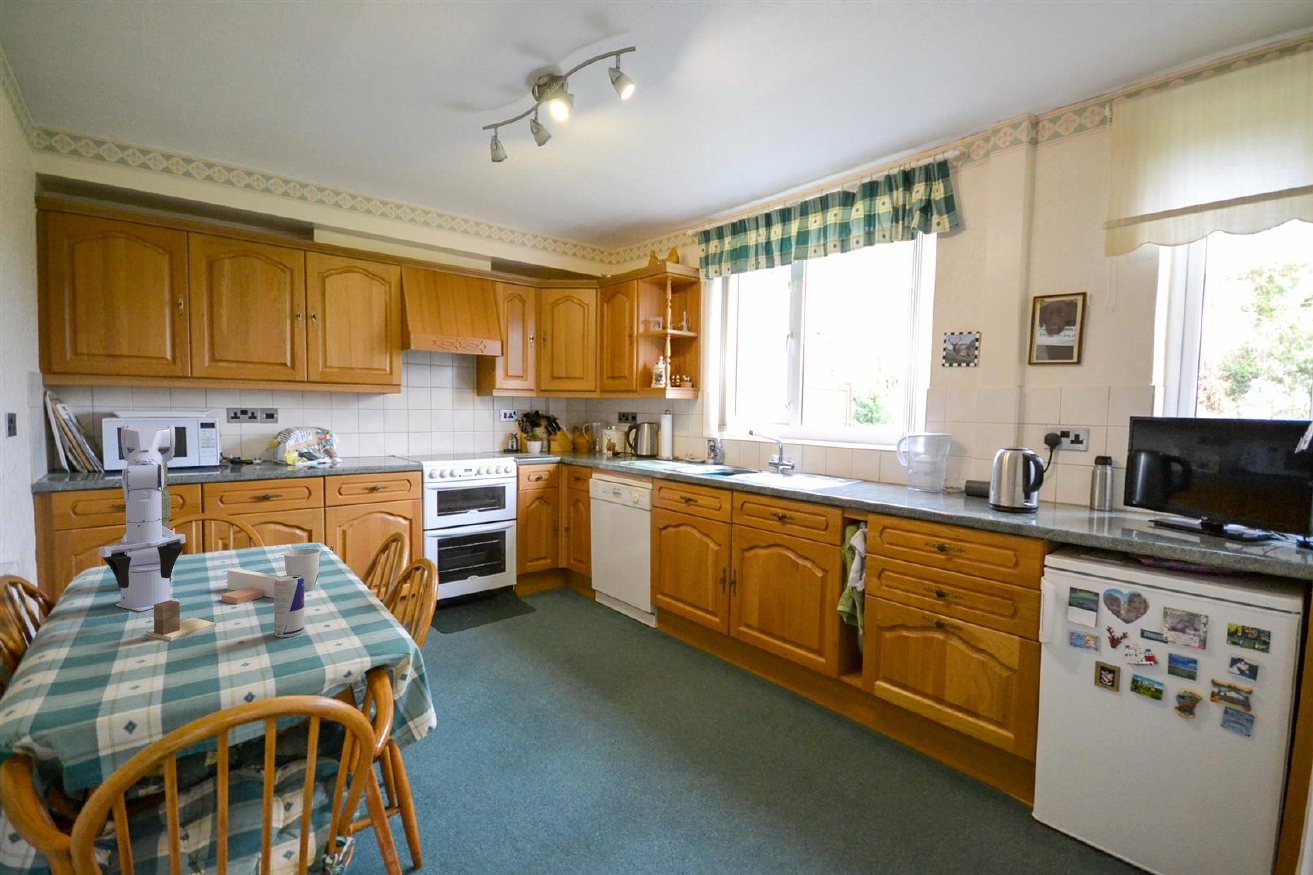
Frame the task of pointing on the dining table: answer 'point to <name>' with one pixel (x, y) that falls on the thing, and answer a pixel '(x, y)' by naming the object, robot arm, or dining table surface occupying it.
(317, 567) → the cup
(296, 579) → the energy drink
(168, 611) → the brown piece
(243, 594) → the tile
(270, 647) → the dining table surface
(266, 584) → the batten
